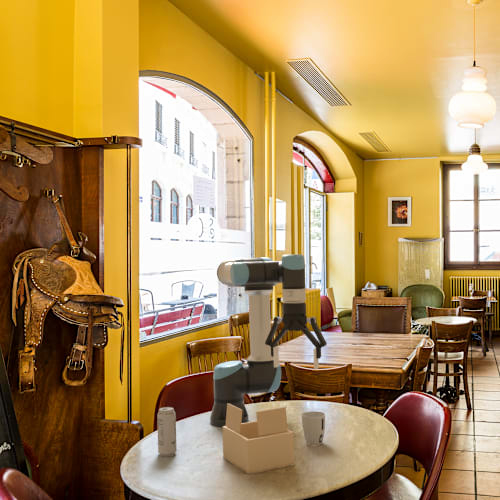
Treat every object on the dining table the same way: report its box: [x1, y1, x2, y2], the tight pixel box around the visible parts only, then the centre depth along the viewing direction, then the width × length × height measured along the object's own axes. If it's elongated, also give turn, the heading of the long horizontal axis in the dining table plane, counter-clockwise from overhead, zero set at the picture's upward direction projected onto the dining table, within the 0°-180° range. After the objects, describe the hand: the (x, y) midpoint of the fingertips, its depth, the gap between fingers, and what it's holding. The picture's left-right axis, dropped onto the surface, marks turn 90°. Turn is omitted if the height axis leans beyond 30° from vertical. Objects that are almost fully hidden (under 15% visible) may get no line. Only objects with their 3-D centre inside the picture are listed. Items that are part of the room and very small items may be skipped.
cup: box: [301, 410, 326, 446], centre depth 206 cm, size 8×8×10 cm
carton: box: [221, 420, 295, 475], centre depth 190 cm, size 19×17×10 cm
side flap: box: [225, 403, 242, 433], centre depth 188 cm, size 7×10×1 cm
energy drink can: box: [156, 406, 177, 458], centre depth 198 cm, size 6×6×15 cm
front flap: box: [255, 406, 289, 436], centre depth 183 cm, size 7×10×1 cm
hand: (296, 367), depth 194 cm, fingers open, 13 cm apart
